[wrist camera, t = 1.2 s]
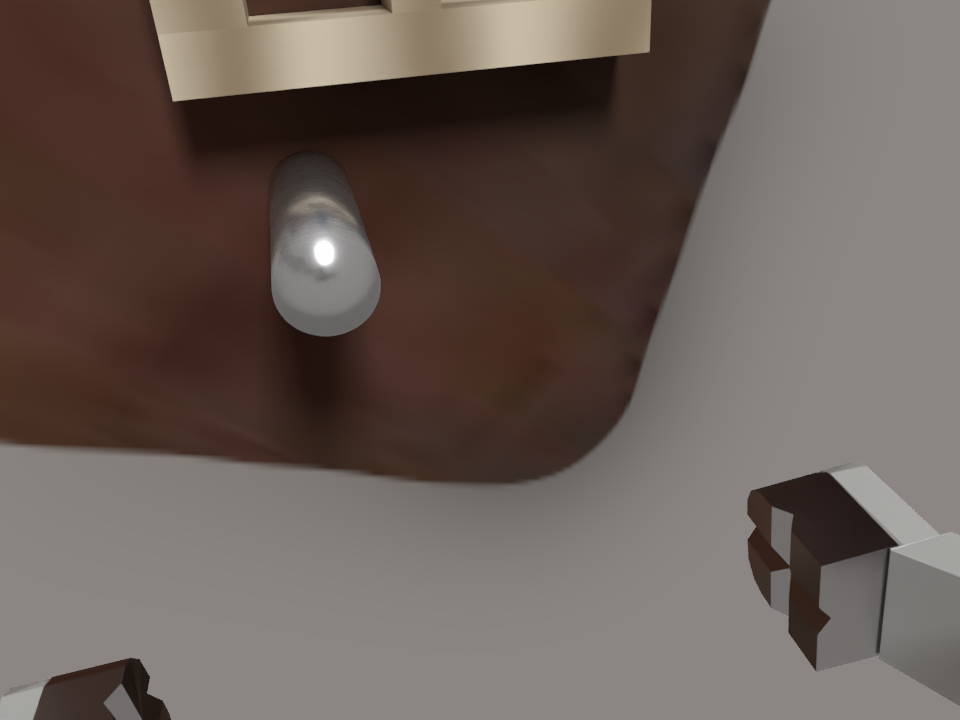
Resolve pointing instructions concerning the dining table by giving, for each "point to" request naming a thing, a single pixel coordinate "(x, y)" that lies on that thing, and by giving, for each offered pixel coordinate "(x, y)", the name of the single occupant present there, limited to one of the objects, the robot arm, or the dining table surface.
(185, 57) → the socket block
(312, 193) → the plug
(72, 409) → the dining table surface
